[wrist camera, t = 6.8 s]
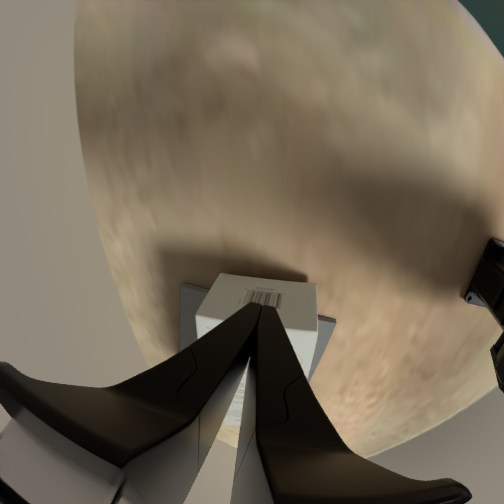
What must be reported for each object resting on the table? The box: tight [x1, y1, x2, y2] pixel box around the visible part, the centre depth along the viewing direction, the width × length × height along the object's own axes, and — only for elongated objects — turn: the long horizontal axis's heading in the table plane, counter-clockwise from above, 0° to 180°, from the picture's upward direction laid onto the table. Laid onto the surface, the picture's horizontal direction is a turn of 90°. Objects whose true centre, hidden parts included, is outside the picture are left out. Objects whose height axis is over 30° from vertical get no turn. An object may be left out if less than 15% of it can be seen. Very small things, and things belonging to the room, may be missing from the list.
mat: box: [180, 283, 336, 383], centre depth 27 cm, size 14×12×1 cm
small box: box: [195, 273, 318, 427], centre depth 23 cm, size 8×6×13 cm
